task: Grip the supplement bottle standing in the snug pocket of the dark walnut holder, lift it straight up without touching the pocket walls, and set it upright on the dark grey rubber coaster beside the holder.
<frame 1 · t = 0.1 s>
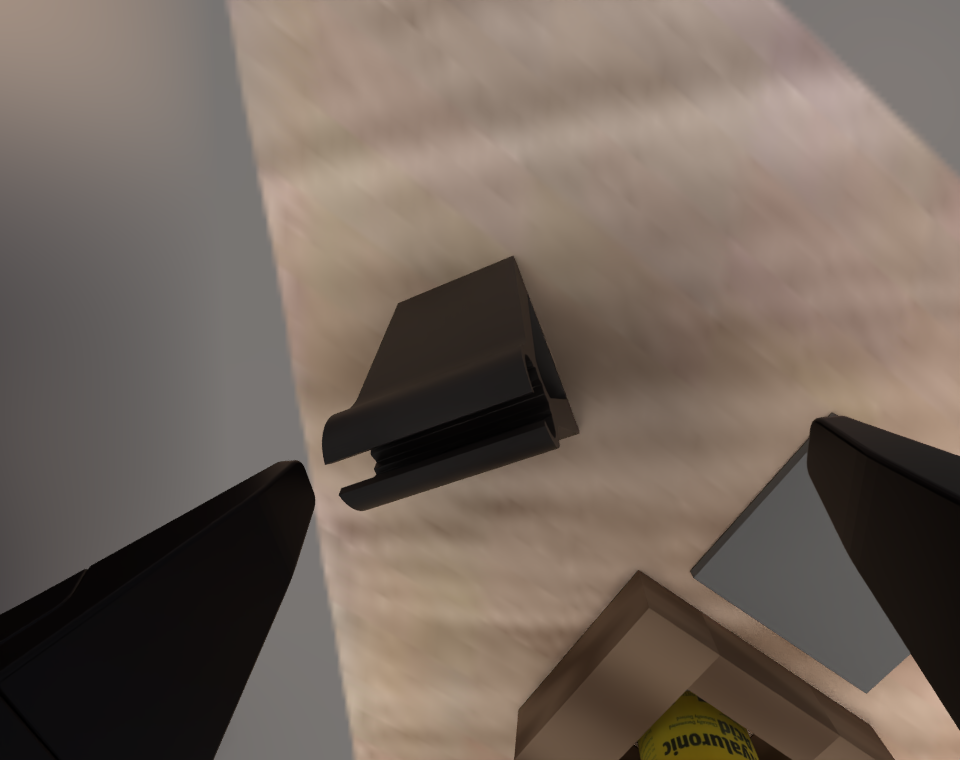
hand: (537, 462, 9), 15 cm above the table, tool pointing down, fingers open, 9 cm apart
pocket holder: (685, 717, 27), on the table
coaster: (846, 554, 24), on the table
supplement bottle: (684, 713, 27), resting in pocket holder
phone stand: (490, 366, 25), on the table
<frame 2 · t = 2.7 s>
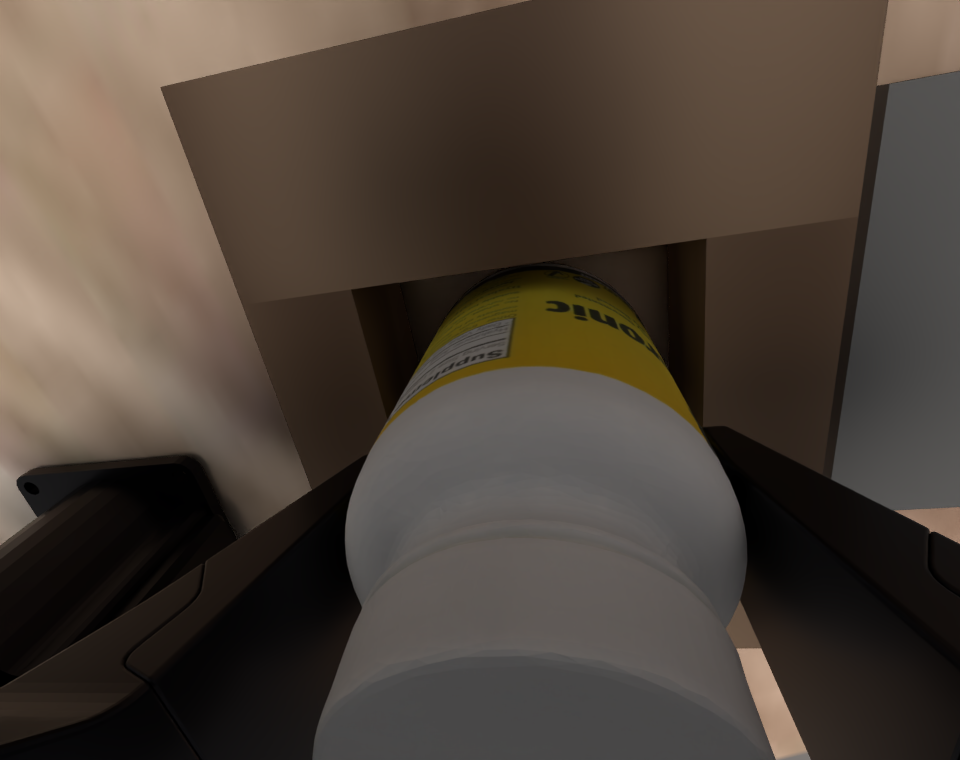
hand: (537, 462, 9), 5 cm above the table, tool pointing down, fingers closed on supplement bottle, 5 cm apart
pocket holder: (539, 361, 13), on the table
supplement bottle: (539, 358, 13), resting in pocket holder, touching gripper
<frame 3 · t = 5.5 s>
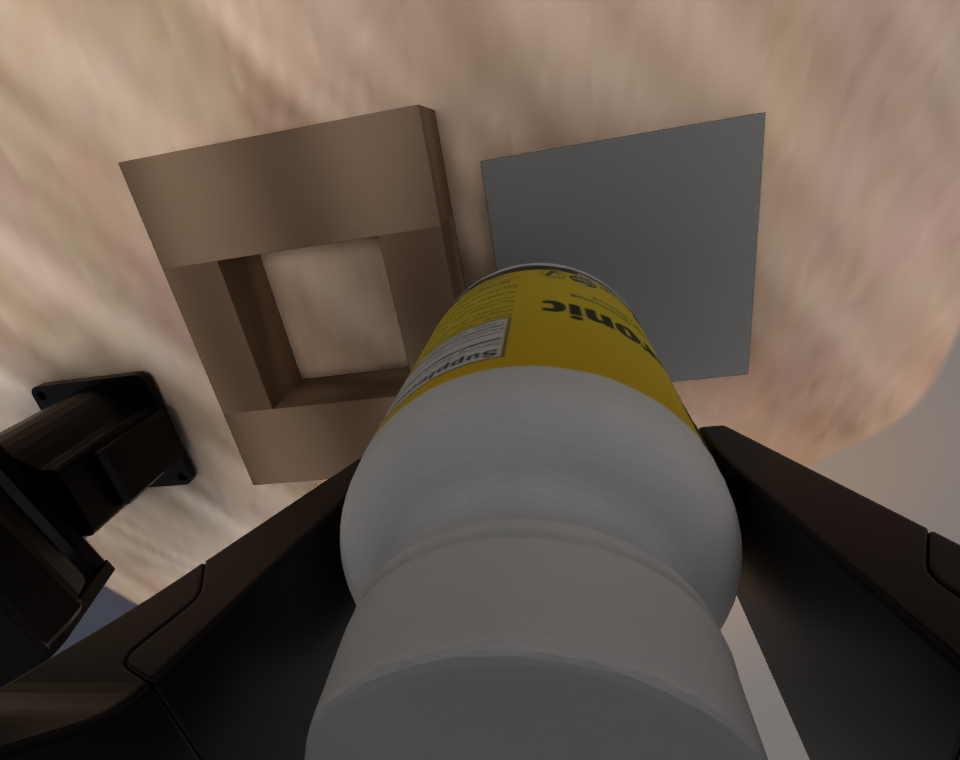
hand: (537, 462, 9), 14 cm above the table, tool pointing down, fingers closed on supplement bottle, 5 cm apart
pocket holder: (345, 307, 22), on the table
coaster: (620, 271, 21), on the table
supplement bottle: (537, 357, 13), point 9 cm above the table, touching gripper
when the fingers open (6 cm above the table, at t = 7.8 s): supplement bottle drops 1 cm, resting on coaster.
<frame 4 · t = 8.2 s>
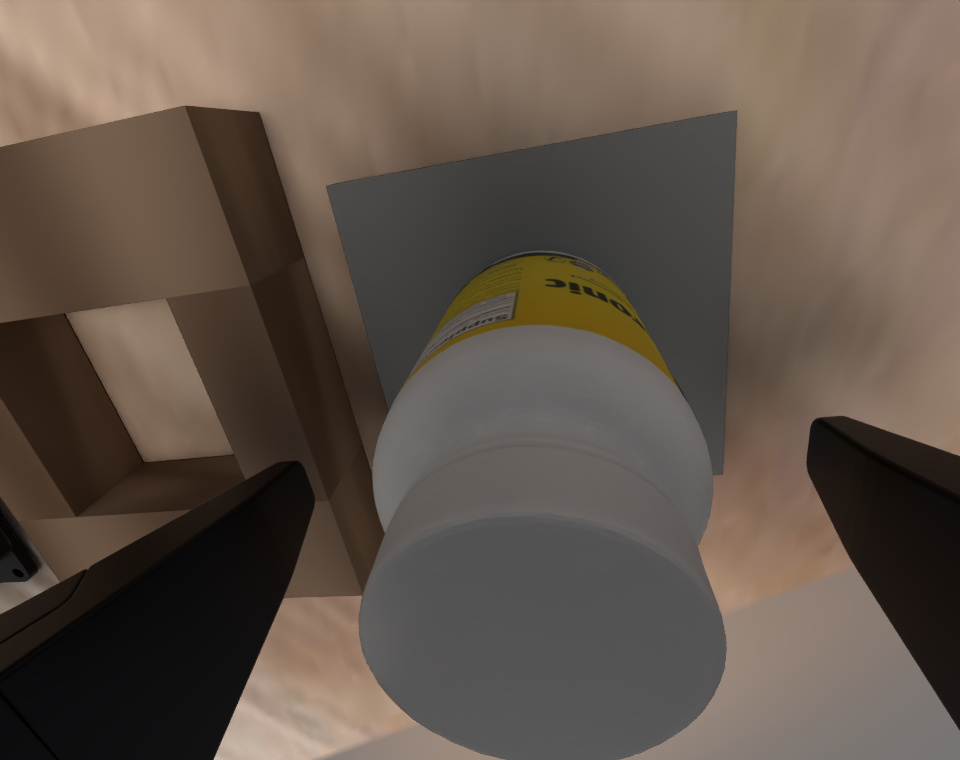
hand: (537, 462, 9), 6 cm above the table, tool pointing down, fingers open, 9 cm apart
pocket holder: (183, 376, 17), on the table
coaster: (541, 334, 15), on the table
supplement bottle: (539, 339, 14), resting on coaster
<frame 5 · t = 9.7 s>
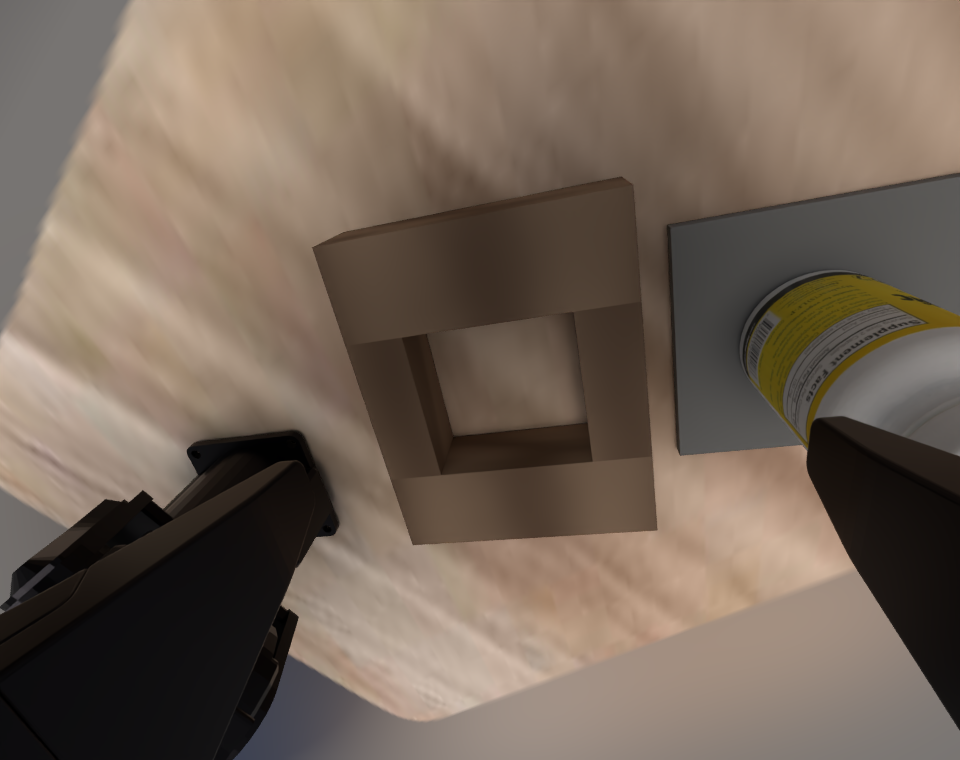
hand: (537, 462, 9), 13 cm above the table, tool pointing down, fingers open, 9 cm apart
pocket holder: (506, 369, 22), on the table
coaster: (805, 330, 20), on the table
supplement bottle: (809, 333, 19), resting on coaster
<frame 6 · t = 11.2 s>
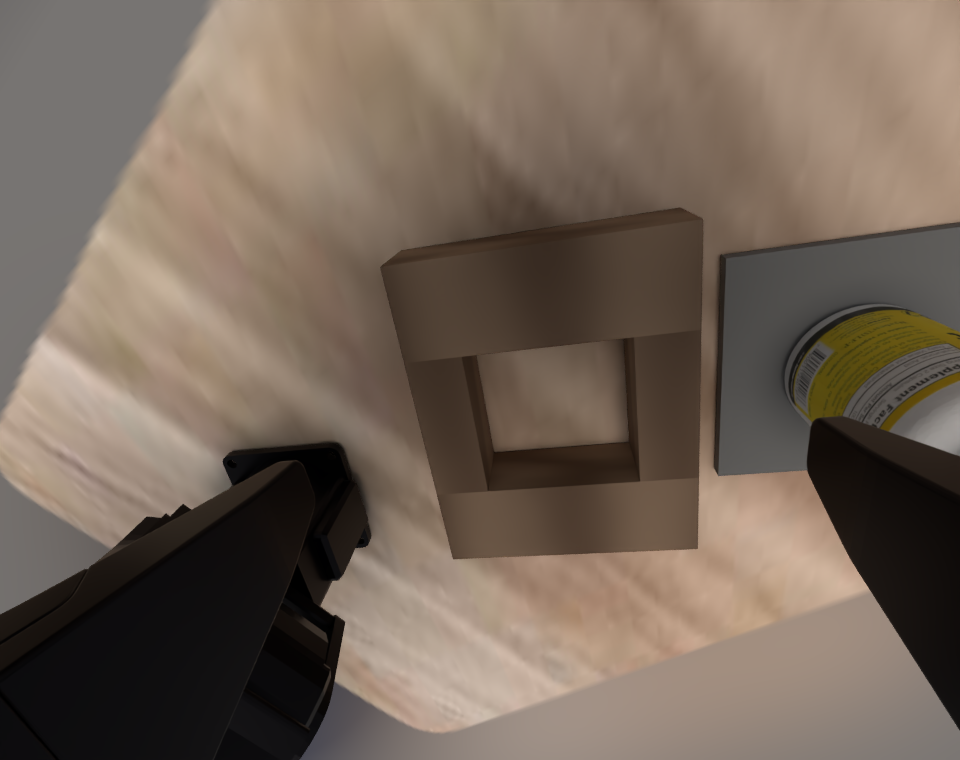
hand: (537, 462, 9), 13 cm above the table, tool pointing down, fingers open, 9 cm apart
pocket holder: (552, 388, 23), on the table
coaster: (846, 359, 21), on the table
supplement bottle: (850, 362, 20), resting on coaster
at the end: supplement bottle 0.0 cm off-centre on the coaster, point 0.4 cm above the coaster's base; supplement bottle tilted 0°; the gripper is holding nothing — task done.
